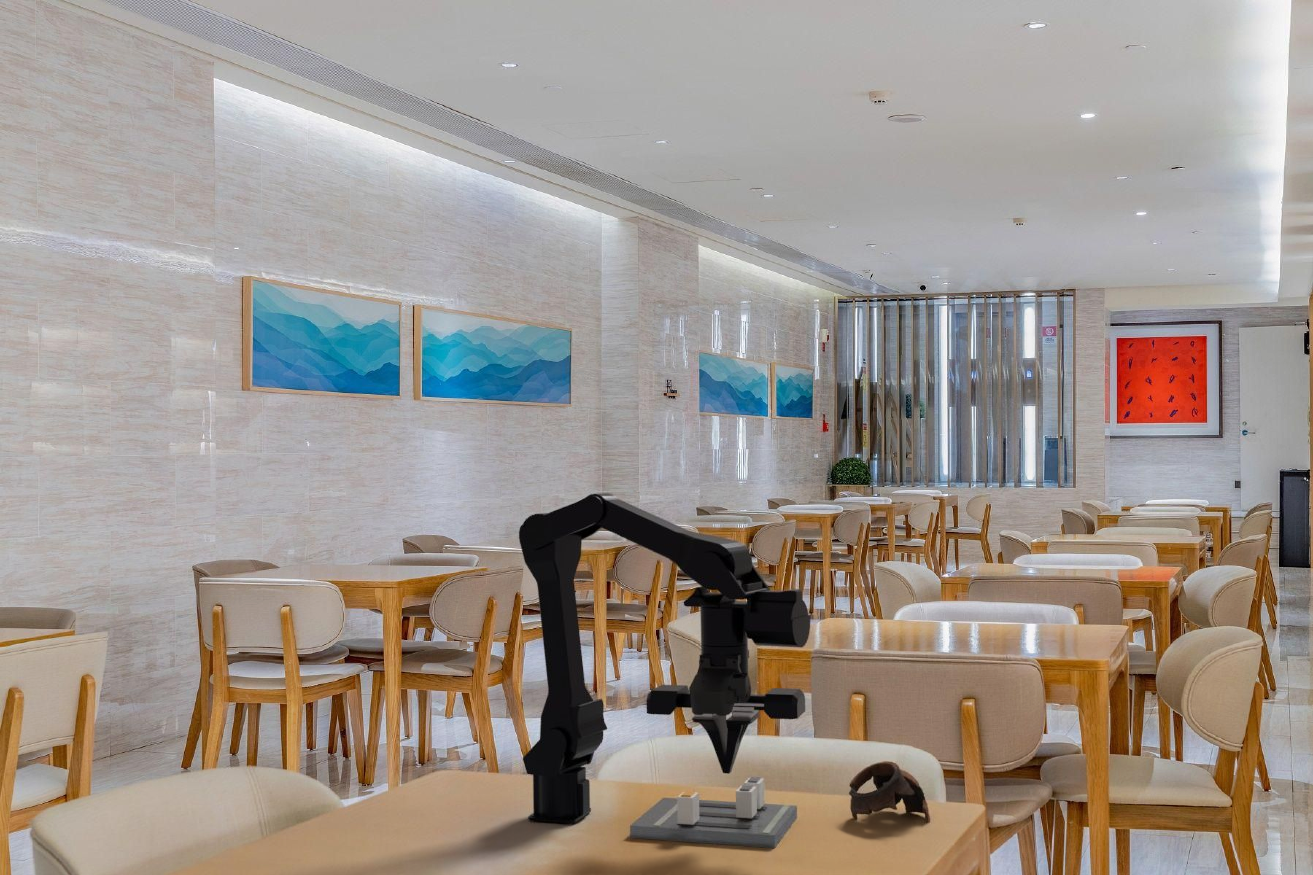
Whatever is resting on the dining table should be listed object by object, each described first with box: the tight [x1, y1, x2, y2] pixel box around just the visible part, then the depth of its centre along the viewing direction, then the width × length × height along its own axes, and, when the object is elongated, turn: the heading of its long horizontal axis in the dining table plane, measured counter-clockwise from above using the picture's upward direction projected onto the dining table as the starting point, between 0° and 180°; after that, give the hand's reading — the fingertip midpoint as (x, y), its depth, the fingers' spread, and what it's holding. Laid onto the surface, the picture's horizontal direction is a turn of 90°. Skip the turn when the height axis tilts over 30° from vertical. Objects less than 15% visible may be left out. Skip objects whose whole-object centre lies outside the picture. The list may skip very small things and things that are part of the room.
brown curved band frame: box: [848, 760, 931, 824], centre depth 162 cm, size 12×10×8 cm
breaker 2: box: [743, 776, 766, 809], centre depth 161 cm, size 2×3×3 cm
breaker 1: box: [676, 790, 700, 825], centre depth 155 cm, size 2×3×3 cm
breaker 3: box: [735, 784, 757, 818], centre depth 157 cm, size 2×3×3 cm
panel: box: [629, 797, 798, 849], centre depth 158 cm, size 18×14×2 cm
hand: (727, 772), depth 153 cm, fingers closed
